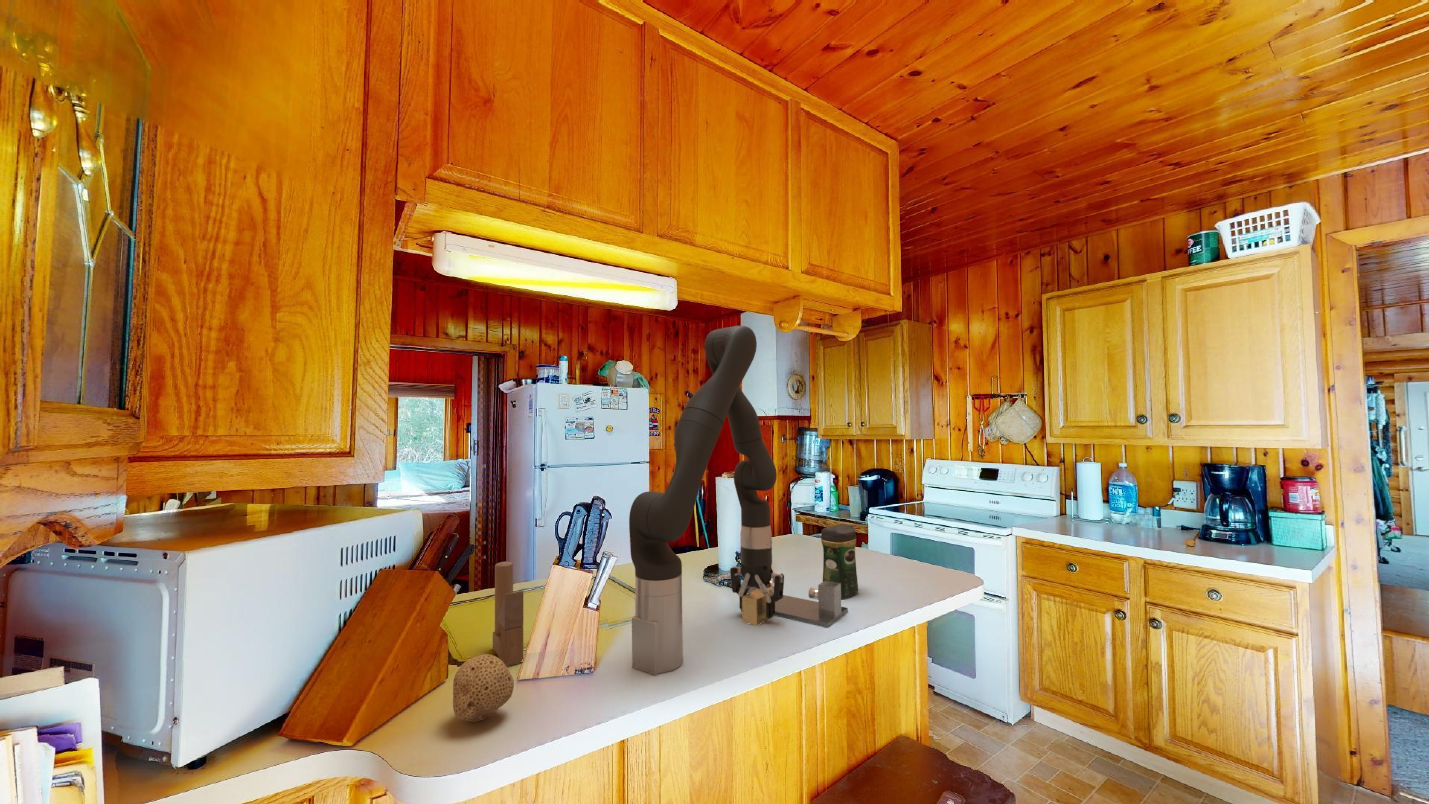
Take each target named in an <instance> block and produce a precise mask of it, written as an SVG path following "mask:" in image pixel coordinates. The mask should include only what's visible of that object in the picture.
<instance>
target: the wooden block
mask: <svg viewBox="0 0 1429 804" xmlns="http://www.w3.org/2000/svg"><path fill="white" fill-rule="evenodd" d="M492 649H493V650H494V653H495V654H496V655H497V658H499V659H500V660H502V661H503V662H504V664H505V665H506V667H507V668H509V667H511V666H515V665H519V664H522V663H521V661H522V659H523V660H524V590H520V591H514V563H513V562H512V561H501V562H498V563H496V564H495V565H494V631H493V632H492Z"/></svg>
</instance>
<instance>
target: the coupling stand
mask: <svg viewBox="0 0 1429 804" xmlns="http://www.w3.org/2000/svg"><path fill="white" fill-rule="evenodd" d="M770 581H771V584H772V586H773V591H774V583H773V580H772V579H771V580H770ZM765 587H766V588H767V586H765ZM757 589H759V588H756V587H750V589H749V591H748V593H747V594H749V593H751V592H753V591H755V590H757ZM759 590H761V589H759ZM808 598H809V599H804V598H802V597H801V598H800V597H797V596H796V597H795V596H790V595H785V594H783V598H782V599H780V600H778V601H777V602H775V615H774V616H775V617H779V618H784V619H788V620H792V621H797V620H798V622H801V623H806V624H811V625H815V626H819V627H823V628H829V627H830V626H832V625H833V624H835V623H836V622H837V621H839V620H840V619H841V618H842V617H844V616H845V615H846V614H847V613H848V612H849V609H848V607H846V606H845V607H844V606H842V598H841V583H836V582H831V581H824V582H823V581H822V582H820V583H818V585H817V588H815V587H814V588H813V587H810V588H809V590H808ZM810 599H811V600H810ZM812 599H813V600H812ZM815 600H817V601H815Z"/></svg>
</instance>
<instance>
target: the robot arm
mask: <svg viewBox="0 0 1429 804" xmlns="http://www.w3.org/2000/svg"><path fill="white" fill-rule="evenodd" d="M757 345H758V344H757V337H756V333H755V332H754V331H753V330H752V328H750V326H749V327H748V326H745V325H734V326H729V327H724V328H717V329H714V330H712V331H710V332H709V333H708V334H707V335H706V338H705V341H704V353H705V358H706V360H707V364H708V366H709V369H710V371H711V374H712V375H711V377H710V378H709V379H707V381H706V382H705V383H704V384H702V386H700V388H699V389H698V390H697V391H696V392H695V393H694V394H693V395H692V396H691V397H690V399H689V400H687V402H686V404H685V406H684V408H683V410H682V412H681V414H680V417H679V419H678V421H677V423H676V426H675V428H674V429H675V430H674V434H673V435H674V436H673V437H674V438H673V439H674V451H675V466H674V471H673V474H672V476H671V479H670V481H669V483H668V486H667V487H666V490H665V491H664V492H660V491H643V492H642V493H640V494H639V495H637V496H636V497H635V498H634V500H633V502H632V503H631V506H630V510H629V511H630V512H629V517H628V518H629V519H628V523H629V524H628V526H629V527H628V529H629V546H630V547H629V548H630V558H631V561H632V564H633V566H634V575H635V577H634V578H635V579H634V580H635V583H634V584H635V587H634V591H635V594H634V596H635V599H634V600H635V601H634V603H635V604H634V605H635V614H634V616H632V617H631V667H632V668H634V669H637V670H639V671H643V672H646V673H647V674H648V673H649V674H651V675H654V676H657V675H658V674H661V673H667V672H671V671H674V670H676V669H677V668H679V667H681V665H682V664H683V661H684V651H683V649H684V646H683V645H684V643H683V642H684V640H683V569H682V568H683V563H682V559H681V558H680V557H679V555H678V554H677V553H675V552H674V550H672V548H671V547H670V546H669V543H673V542H677V540H679V539H680V538H681V537H682V536H683V535H684V533H685V532H686V531H687V529H688V528H689V527H688V526H689V525H690V523H691V519H692V515H693V512H694V508H695V505H696V503H697V502H696V501H697V498H698V494H699V491H700V488H701V485H702V482H703V479H704V476H705V473H706V470H707V468H708V467H707V466H708V464H709V461H710V458H711V456H712V453H713V450H714V448H715V446H716V444H717V442H718V440H719V437H720V435H721V432H722V429H723V427H724V424H725V423H726V422H725V421H726V418H727V420H728V424H729V429H730V433H731V437H732V441H733V442H732V443H733V447H734V450H735V451H736V453H738V454H741V455H742V456H745V457H746V458H747V459H746V460H741V461H739V462H738V463H737V465H736V466H735V469H734V472H733V481H734V482H733V483H734V488H735V491H736V495H737V498H738V502H739V506H740V517H741V519H740V524H741V528H740V537H739V538H740V564H741V566H739V565H736V566H733V567H730V569H729V571H730V572H729V573H730V581H731V582H730V583H731V591H732V593H735V594H737V595H738V597H739V599H738V600H739V609H740V611H741V613H742V597H743V596H745V595H747V594H748V591H749V589H750V587H756V588H759V589H761V592H762V593H763V594H764V595H765V598H766V600H767V602H766V618H769V619H768V620H771V619H772V618H773V617H774V616H775V602H777V601H778V600H780V599H782V598H783V595H784V586H785V575H784V573H775V572H774V571H773V568H772V565H773V539H772V538H773V535H772V534H773V533H772V529H771V506H770V504H769V502H768V501H767V500H765V499H762V498H761V497H760V496H759V494H758V491H760V492H761V491H762V492H765V491H766V492H767V491H770V490H772V489H773V488H774V486H775V485H776V482H777V478H778V477H777V475H778V474H777V469H776V465H775V463H774V461H773V459H772V456H771V455H770V453H769V450H768V448H767V446H766V444H765V442H764V438H763V434H762V430H761V424H760V419H759V416H758V414H757V411H756V410H755V408H754V407H753V405H752V403H751V402H750V400H749V399H748V398H747V396H746V395H745V393H744V391H743V390H742V389H741V387H740V386H741V384H742V382H743V380H744V378H745V376H746V375H747V372H748V371H749V369H750V367H751V365H752V363H753V360H754V359H755V355H756V353H757ZM741 576H742V577H741ZM742 578H743V581H742V580H741V579H742ZM770 580H771V581H773V583H774V591H773V586H772V584H771V581H770ZM765 586H767V588H766V587H765Z"/></svg>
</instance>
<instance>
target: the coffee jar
mask: <svg viewBox="0 0 1429 804" xmlns="http://www.w3.org/2000/svg"><path fill="white" fill-rule="evenodd" d="M856 533H857V532H856V529H855V528H854V526H853V525H848V524H843V523H842V524H841V523H840V524H836V525H832V526H827V527H824V528H823V529H821V535H820V536H821V537H820V542H821V545H822V549H823V550H822V551H823V552H822V553H823V557H822V559H823V561H822V563H823V565H822V566H823V567H822V568H823V569H822V582H824V581H831V582H836V583H841V599H846V598H850V597H852V596H854V595H856V594H857V593H858V592H859V582H858V581H859V580H858V573H857V562H856V546H857V545H856V543H857V534H856Z"/></svg>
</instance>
